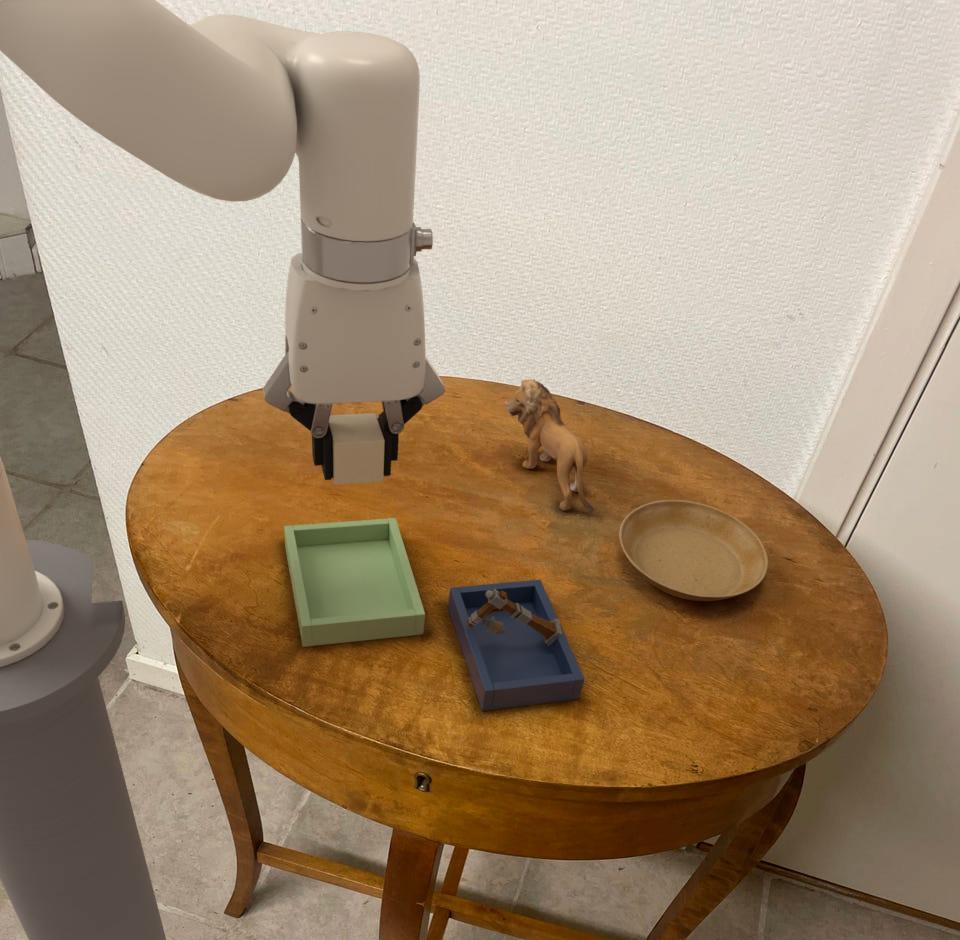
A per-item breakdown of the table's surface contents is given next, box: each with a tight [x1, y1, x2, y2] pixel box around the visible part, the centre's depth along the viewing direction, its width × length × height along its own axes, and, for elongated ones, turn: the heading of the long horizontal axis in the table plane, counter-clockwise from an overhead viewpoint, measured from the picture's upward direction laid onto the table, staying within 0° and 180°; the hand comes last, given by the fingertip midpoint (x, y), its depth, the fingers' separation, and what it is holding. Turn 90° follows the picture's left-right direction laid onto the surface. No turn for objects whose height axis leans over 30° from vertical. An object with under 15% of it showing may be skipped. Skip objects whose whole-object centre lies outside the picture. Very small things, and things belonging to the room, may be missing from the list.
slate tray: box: [447, 579, 585, 712], centre depth 83 cm, size 9×13×2 cm
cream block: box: [329, 412, 385, 486], centre depth 77 cm, size 4×4×4 cm
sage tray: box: [283, 517, 426, 648], centre depth 86 cm, size 11×14×2 cm
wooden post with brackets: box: [466, 589, 562, 646], centre depth 81 cm, size 2×8×4 cm
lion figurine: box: [504, 378, 596, 514], centre depth 100 cm, size 15×5×9 cm, turn 35°
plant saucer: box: [618, 499, 769, 602], centre depth 94 cm, size 15×15×3 cm
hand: (355, 466), depth 78 cm, fingers closed on cream block, 4 cm apart
